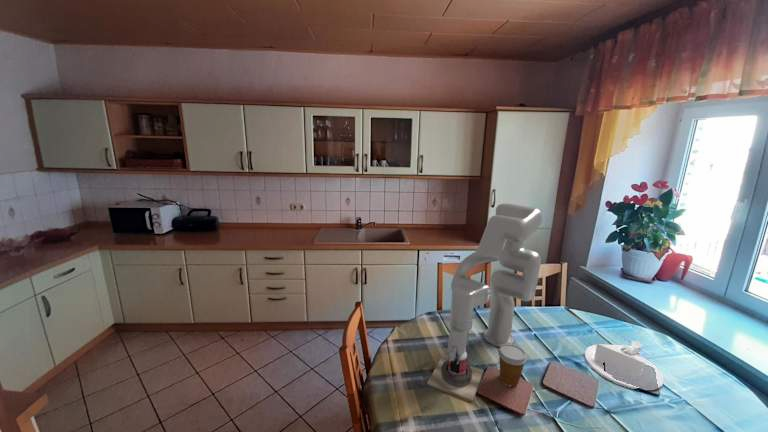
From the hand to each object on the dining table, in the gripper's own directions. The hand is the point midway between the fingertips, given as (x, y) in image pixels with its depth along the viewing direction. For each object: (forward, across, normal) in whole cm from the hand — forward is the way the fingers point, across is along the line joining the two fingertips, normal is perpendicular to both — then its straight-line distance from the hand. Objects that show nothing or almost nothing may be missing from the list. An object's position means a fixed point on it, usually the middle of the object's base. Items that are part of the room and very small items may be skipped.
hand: (457, 365), depth 116 cm
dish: (+6, -39, +54) cm, 67 cm away
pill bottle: (+3, 0, 0) cm, 3 cm away
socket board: (+5, 0, 0) cm, 5 cm away
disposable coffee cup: (+6, -9, +17) cm, 20 cm away
